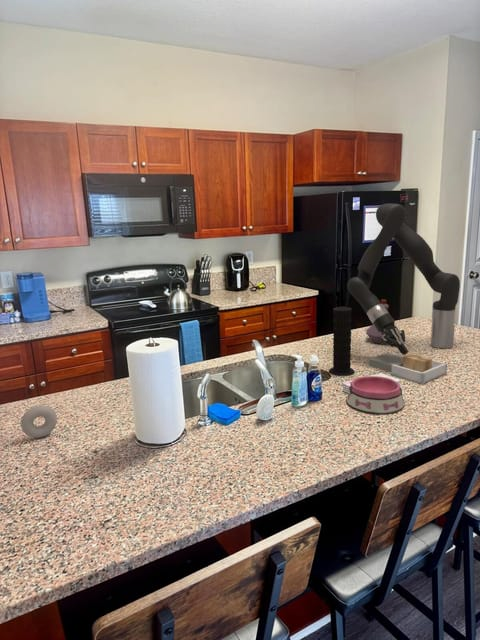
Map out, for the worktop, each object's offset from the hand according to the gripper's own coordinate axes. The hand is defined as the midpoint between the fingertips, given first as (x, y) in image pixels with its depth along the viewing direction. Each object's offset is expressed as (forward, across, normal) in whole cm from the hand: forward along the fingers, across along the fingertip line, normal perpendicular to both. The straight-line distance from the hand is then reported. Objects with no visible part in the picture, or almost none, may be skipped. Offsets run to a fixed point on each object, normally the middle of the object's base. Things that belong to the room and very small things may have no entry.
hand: (405, 353), depth 172 cm
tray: (+9, 0, +1) cm, 9 cm away
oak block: (+3, 0, +2) cm, 3 cm away
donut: (-22, -126, +32) cm, 132 cm away
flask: (-17, +27, +27) cm, 41 cm away
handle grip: (-6, -19, +16) cm, 26 cm away
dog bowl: (+13, -33, -2) cm, 35 cm away
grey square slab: (0, 0, +10) cm, 10 cm away
